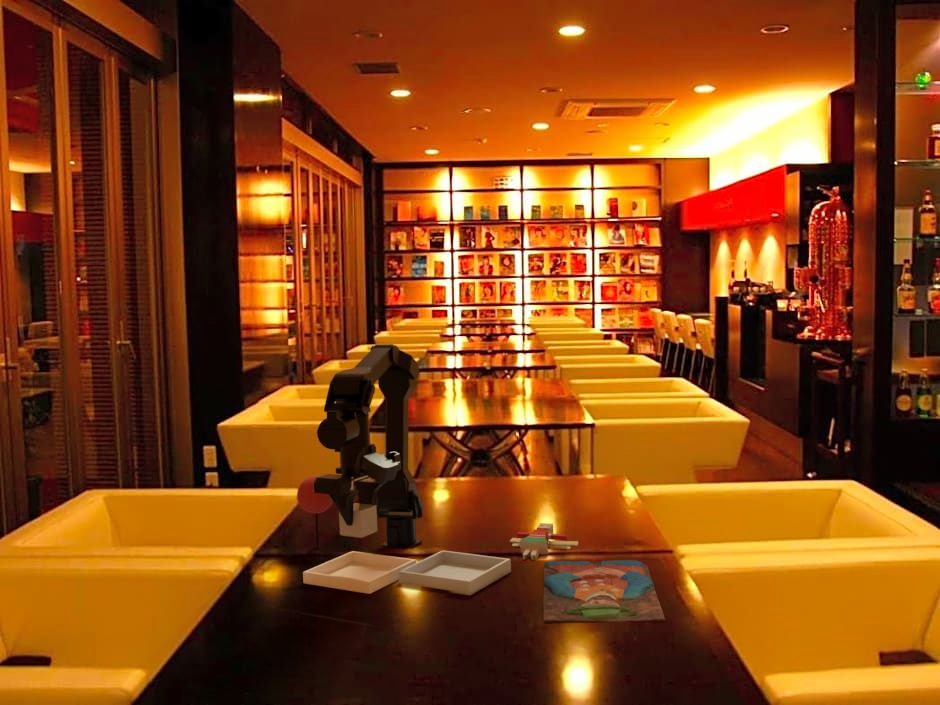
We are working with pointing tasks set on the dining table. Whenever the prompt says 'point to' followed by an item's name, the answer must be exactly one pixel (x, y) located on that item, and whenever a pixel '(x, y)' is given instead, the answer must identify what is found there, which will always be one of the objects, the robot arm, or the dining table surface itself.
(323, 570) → the bin
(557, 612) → the plaque
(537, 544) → the toy
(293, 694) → the dining table surface
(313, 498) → the lollipop
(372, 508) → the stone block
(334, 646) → the dining table surface
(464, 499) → the dining table surface
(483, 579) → the bin
